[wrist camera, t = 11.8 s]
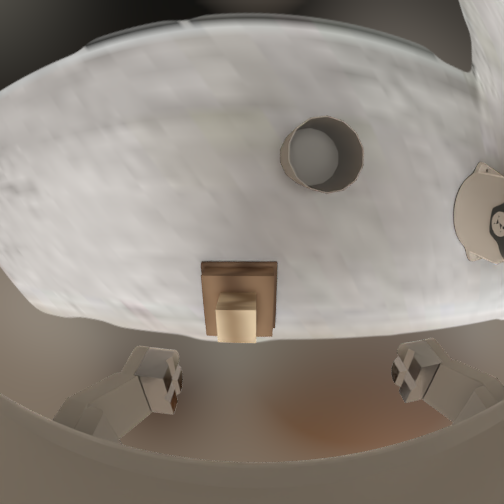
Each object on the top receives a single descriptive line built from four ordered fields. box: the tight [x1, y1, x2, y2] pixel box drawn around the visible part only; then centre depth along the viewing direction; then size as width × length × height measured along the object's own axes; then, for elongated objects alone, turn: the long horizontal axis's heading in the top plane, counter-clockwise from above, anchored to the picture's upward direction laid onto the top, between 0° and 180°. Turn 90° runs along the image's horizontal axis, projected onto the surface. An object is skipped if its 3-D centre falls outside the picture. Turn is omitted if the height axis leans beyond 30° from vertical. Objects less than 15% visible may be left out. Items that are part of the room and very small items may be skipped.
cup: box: [280, 116, 364, 194], centre depth 31 cm, size 8×8×10 cm
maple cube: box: [216, 292, 256, 343], centre depth 36 cm, size 5×5×5 cm
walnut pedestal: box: [201, 262, 277, 337], centre depth 41 cm, size 11×11×4 cm
